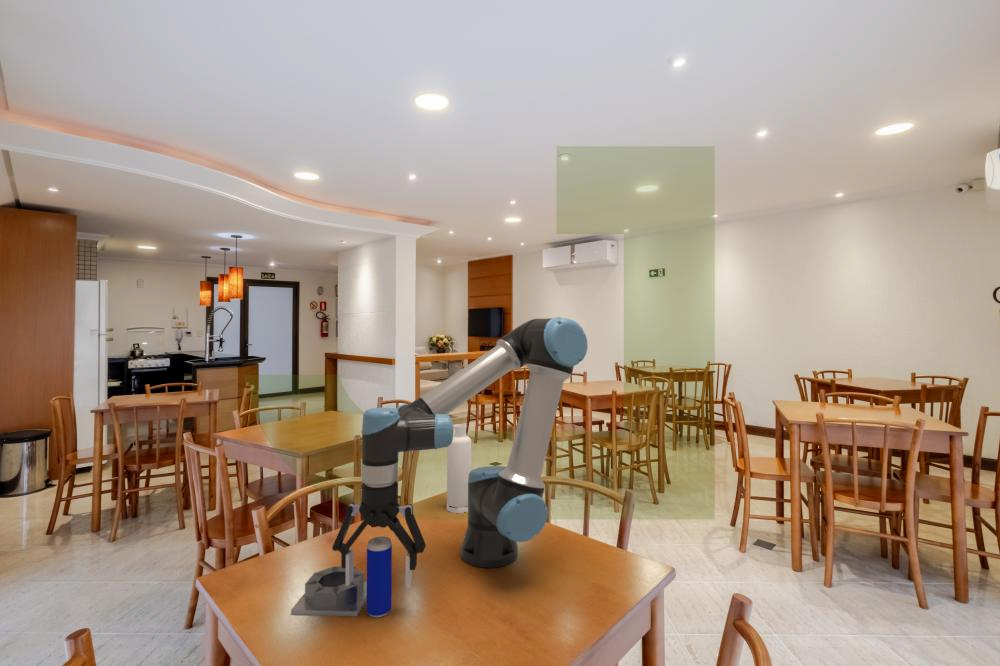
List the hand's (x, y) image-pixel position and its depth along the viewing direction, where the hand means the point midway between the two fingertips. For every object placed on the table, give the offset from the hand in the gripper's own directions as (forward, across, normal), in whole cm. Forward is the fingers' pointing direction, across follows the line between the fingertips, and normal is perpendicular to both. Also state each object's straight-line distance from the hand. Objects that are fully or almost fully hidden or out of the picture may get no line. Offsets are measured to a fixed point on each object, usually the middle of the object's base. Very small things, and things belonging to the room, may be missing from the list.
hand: (379, 583), depth 101 cm
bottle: (+6, -10, -59) cm, 60 cm away
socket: (+6, +11, -4) cm, 13 cm away
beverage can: (+6, 0, 0) cm, 6 cm away
